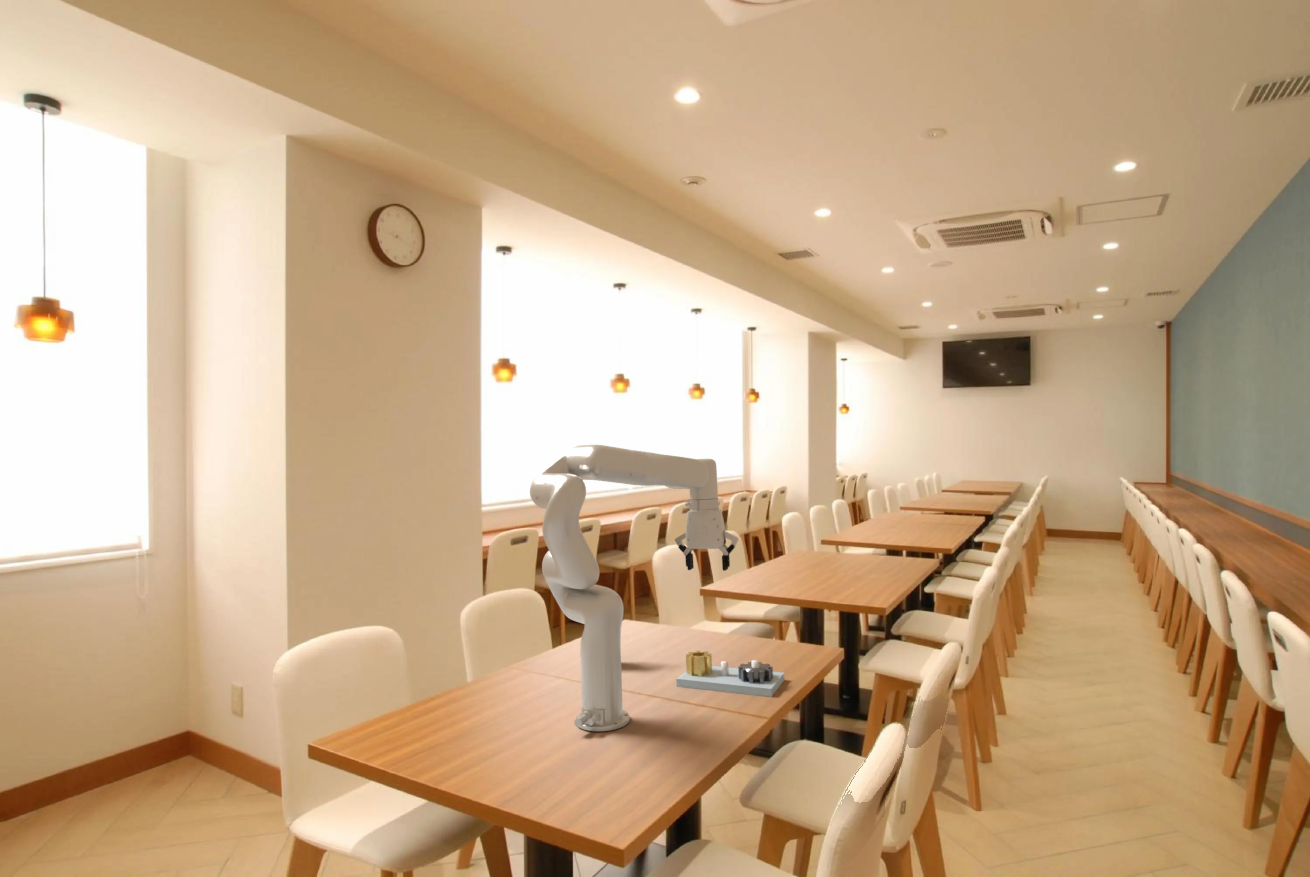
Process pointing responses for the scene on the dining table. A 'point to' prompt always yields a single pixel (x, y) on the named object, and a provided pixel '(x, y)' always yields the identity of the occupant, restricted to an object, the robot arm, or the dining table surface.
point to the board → (730, 681)
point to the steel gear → (755, 673)
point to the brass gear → (699, 663)
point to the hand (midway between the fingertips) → (707, 569)
